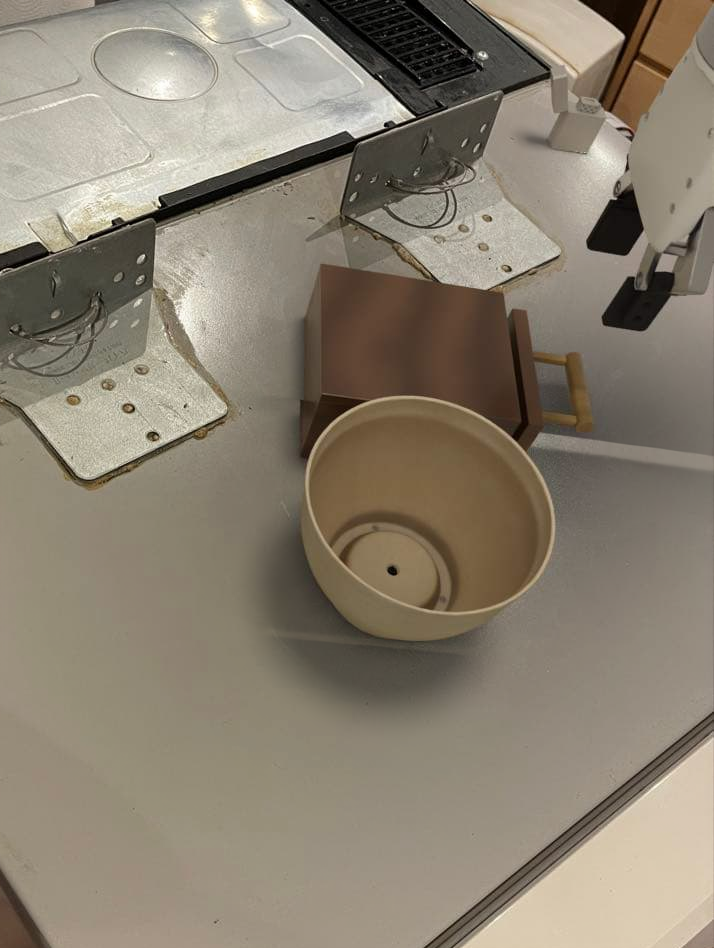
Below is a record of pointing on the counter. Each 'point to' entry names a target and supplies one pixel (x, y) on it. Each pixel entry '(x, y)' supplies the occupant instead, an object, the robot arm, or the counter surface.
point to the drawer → (529, 386)
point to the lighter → (573, 116)
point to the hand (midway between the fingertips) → (614, 285)
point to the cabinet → (403, 347)
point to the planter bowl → (423, 518)
